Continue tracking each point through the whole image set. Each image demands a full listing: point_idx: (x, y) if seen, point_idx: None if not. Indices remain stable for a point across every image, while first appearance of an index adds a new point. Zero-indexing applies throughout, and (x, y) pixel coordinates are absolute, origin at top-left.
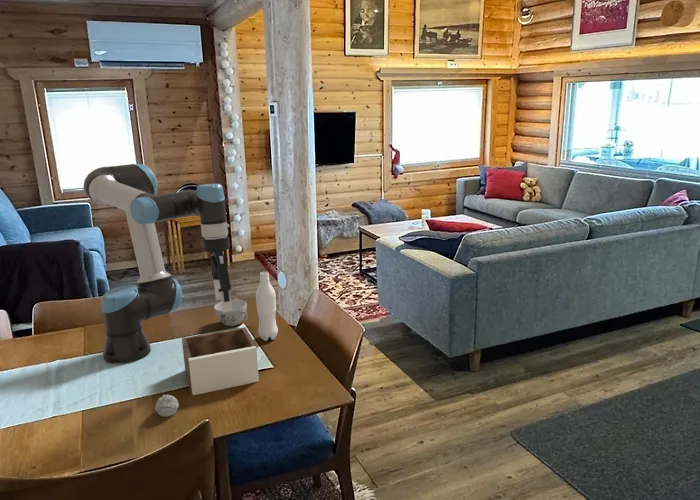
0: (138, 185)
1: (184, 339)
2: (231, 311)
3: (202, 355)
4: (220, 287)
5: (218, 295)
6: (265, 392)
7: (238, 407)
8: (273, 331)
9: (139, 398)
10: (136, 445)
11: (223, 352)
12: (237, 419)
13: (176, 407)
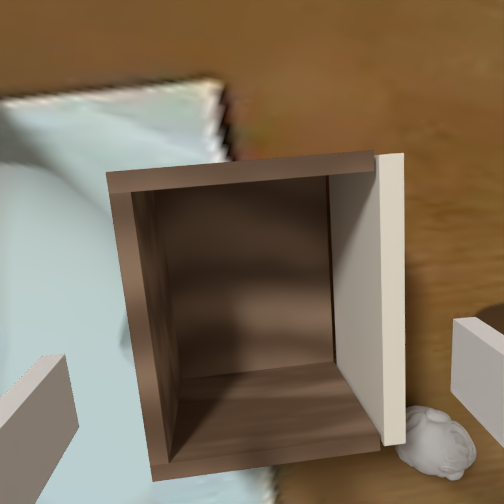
0: None
1: (173, 469)
2: None
3: (171, 356)
4: (5, 467)
5: (57, 432)
6: (389, 146)
7: (440, 239)
8: None
9: (279, 495)
10: (499, 475)
11: (388, 308)
12: (499, 247)
13: (448, 416)
